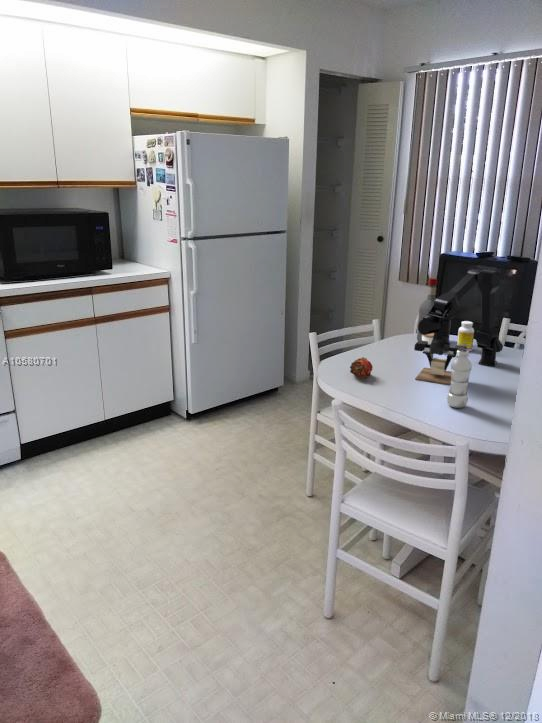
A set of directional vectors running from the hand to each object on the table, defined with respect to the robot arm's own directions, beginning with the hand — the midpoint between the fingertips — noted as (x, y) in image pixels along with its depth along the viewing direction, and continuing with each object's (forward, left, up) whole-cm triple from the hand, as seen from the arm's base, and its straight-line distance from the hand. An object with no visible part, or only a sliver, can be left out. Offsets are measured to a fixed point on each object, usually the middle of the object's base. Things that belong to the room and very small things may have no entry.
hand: (438, 369), depth 207 cm
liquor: (-48, -15, -3) cm, 50 cm away
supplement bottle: (-41, +3, -3) cm, 41 cm away
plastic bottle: (+26, +12, -3) cm, 29 cm away
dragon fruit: (+13, -27, -3) cm, 30 cm away
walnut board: (0, 0, -3) cm, 3 cm away
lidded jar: (-36, -10, -3) cm, 38 cm away
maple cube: (0, 0, -1) cm, 1 cm away
